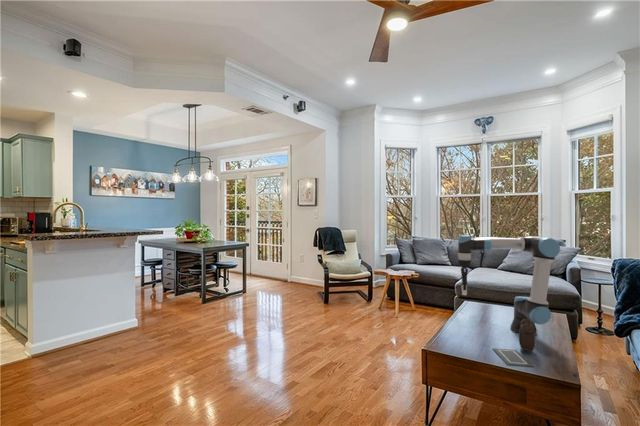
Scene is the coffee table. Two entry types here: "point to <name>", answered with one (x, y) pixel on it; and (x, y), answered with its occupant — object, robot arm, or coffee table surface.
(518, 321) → the robot arm
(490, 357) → the coffee table surface
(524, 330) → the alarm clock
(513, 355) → the rest mat
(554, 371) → the coffee table surface
